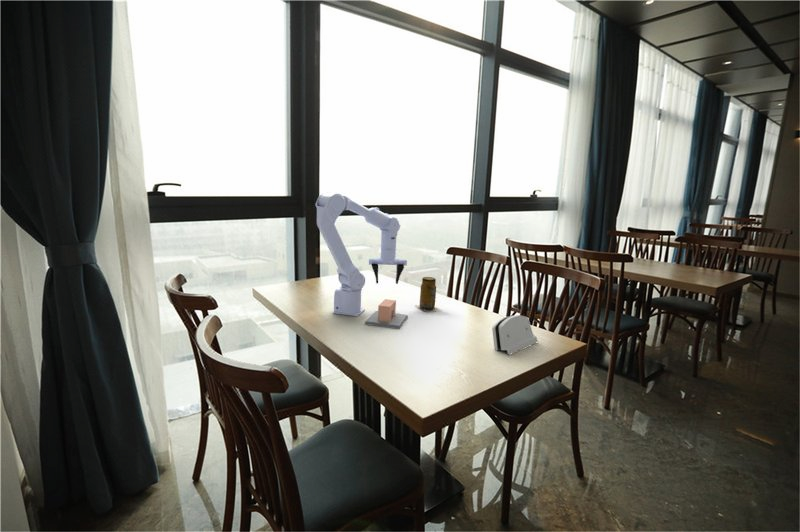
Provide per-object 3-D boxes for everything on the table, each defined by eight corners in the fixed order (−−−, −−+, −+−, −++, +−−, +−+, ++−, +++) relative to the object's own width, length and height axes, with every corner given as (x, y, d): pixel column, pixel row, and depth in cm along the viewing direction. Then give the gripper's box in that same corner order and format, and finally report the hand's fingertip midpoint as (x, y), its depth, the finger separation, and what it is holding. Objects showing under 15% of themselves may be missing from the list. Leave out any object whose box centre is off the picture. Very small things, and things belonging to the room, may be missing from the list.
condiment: (430, 304, 155) (432, 275, 153) (441, 310, 148) (443, 280, 145) (414, 306, 152) (416, 276, 150) (425, 312, 144) (427, 281, 142)
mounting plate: (364, 324, 129) (365, 321, 129) (375, 313, 140) (375, 310, 140) (399, 328, 126) (399, 325, 126) (407, 317, 137) (407, 314, 137)
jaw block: (377, 320, 130) (378, 305, 128) (384, 313, 137) (385, 299, 136) (389, 322, 129) (389, 306, 128) (395, 315, 136) (396, 300, 135)
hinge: (508, 355, 109) (501, 321, 110) (495, 355, 113) (488, 321, 113) (538, 342, 120) (532, 311, 121) (525, 342, 124) (518, 312, 124)
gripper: (369, 249, 140) (368, 285, 143) (408, 250, 142) (406, 285, 145) (369, 246, 147) (368, 280, 150) (406, 247, 149) (404, 281, 152)
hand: (386, 283), depth 148 cm, fingers open, 7 cm apart
